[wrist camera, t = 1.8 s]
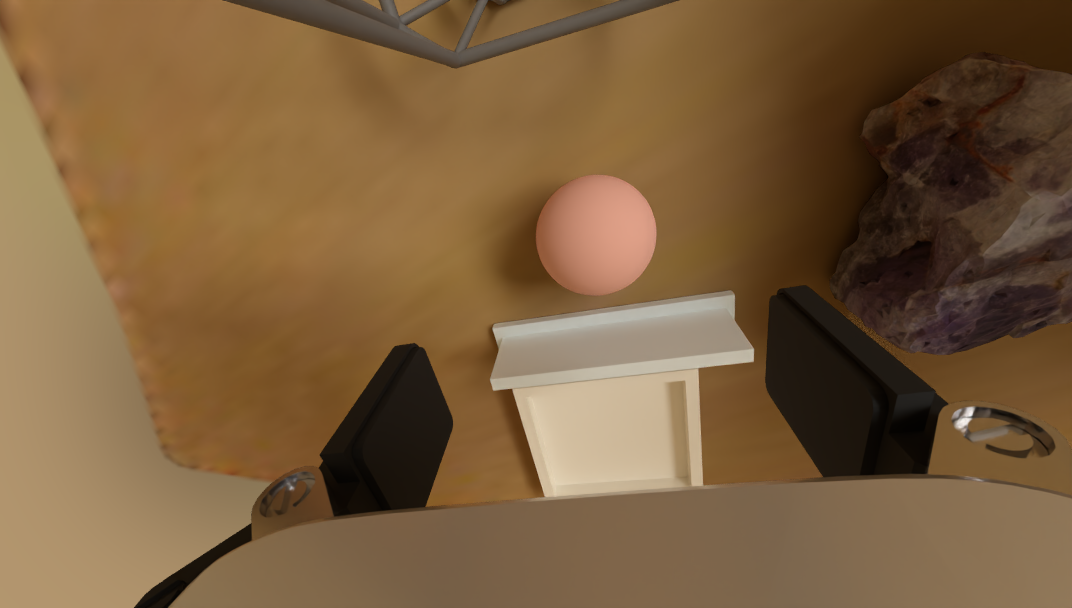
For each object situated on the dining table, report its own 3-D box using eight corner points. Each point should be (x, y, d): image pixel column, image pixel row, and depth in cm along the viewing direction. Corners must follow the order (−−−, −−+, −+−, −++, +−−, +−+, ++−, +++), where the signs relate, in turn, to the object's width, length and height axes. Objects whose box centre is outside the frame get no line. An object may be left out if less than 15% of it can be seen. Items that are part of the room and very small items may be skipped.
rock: (782, 270, 25) (958, 285, 24) (850, 371, 18) (1101, 397, 17) (887, 44, 18) (1143, 54, 17) (1065, 72, 11) (1510, 91, 10)
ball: (641, 154, 21) (662, 175, 16) (651, 259, 24) (671, 307, 19) (530, 177, 22) (516, 204, 17) (551, 275, 25) (544, 325, 20)
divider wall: (731, 290, 24) (765, 334, 20) (731, 324, 25) (763, 373, 21) (494, 323, 27) (477, 369, 23) (502, 353, 28) (488, 402, 24)
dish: (691, 352, 27) (698, 368, 25) (697, 476, 32) (703, 496, 30) (515, 372, 29) (512, 389, 27) (548, 486, 34) (547, 505, 32)
